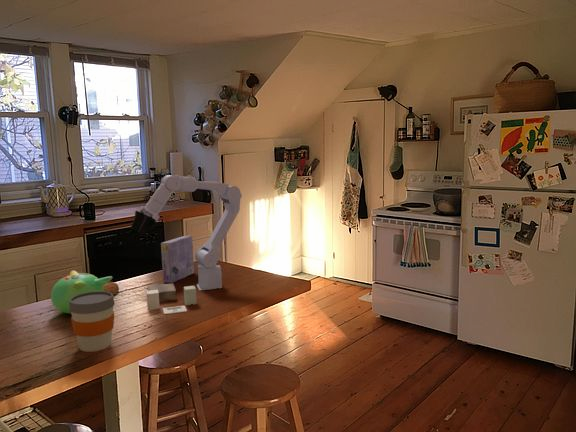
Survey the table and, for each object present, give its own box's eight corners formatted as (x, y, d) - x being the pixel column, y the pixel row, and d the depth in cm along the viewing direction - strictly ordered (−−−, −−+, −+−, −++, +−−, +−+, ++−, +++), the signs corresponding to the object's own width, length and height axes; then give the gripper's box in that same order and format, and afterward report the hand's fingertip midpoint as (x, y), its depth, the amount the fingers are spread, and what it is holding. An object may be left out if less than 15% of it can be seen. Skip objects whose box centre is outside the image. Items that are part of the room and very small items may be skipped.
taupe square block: (173, 292, 198) (173, 283, 197) (176, 300, 188) (175, 290, 188) (147, 295, 194) (147, 286, 194) (149, 303, 185) (148, 293, 184)
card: (184, 306, 181) (184, 305, 181) (187, 311, 175) (187, 310, 175) (162, 308, 178) (162, 308, 178) (164, 314, 172) (164, 313, 172)
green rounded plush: (84, 301, 188) (81, 263, 186) (116, 307, 181) (114, 268, 178) (42, 316, 172) (38, 276, 170) (76, 324, 165) (73, 281, 162)
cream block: (158, 305, 182) (157, 289, 181) (159, 308, 179) (158, 292, 178) (147, 306, 181) (146, 290, 180) (148, 310, 177) (147, 294, 176)
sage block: (194, 300, 187) (194, 285, 186) (196, 304, 183) (195, 288, 182) (184, 302, 185) (183, 286, 184) (185, 305, 182) (185, 289, 181)
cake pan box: (187, 271, 228) (185, 234, 225) (196, 272, 226) (194, 234, 223) (161, 283, 210) (159, 242, 207) (171, 284, 208) (169, 243, 205)
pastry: (120, 295, 195) (120, 286, 194) (102, 298, 192) (102, 288, 191) (117, 288, 203) (117, 280, 203) (100, 291, 200) (99, 282, 200)
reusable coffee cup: (126, 340, 151) (123, 293, 148) (95, 357, 139) (91, 307, 137) (95, 334, 156) (91, 289, 153) (63, 350, 144) (58, 301, 142)
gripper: (142, 193, 191) (121, 222, 188) (156, 199, 179) (134, 230, 176) (155, 203, 195) (136, 231, 192) (171, 209, 183) (150, 240, 181)
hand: (136, 231), depth 185 cm, fingers open, 7 cm apart
